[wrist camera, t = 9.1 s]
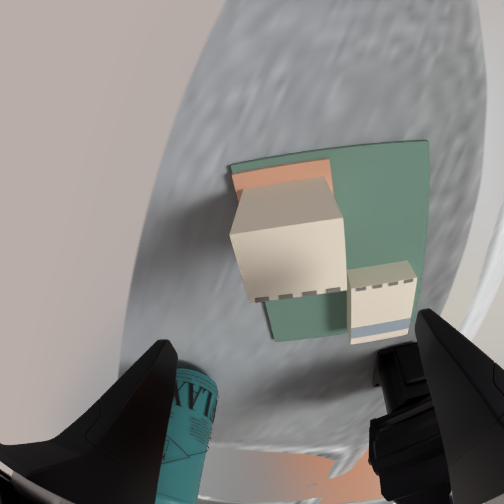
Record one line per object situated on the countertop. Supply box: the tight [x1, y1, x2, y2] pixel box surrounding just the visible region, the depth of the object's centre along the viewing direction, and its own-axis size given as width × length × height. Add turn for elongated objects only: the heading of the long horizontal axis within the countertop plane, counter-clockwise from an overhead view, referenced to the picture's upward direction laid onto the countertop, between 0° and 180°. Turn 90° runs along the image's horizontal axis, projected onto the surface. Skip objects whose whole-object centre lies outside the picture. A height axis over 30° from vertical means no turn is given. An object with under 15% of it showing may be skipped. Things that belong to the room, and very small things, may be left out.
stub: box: [229, 176, 347, 303], centre depth 16 cm, size 4×5×6 cm
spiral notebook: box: [346, 260, 417, 345], centre depth 21 cm, size 6×5×2 cm
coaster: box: [232, 158, 334, 203], centre depth 19 cm, size 6×6×1 cm
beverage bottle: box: [155, 368, 219, 504], centre depth 22 cm, size 6×7×20 cm
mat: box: [231, 140, 429, 342], centre depth 21 cm, size 16×13×1 cm
